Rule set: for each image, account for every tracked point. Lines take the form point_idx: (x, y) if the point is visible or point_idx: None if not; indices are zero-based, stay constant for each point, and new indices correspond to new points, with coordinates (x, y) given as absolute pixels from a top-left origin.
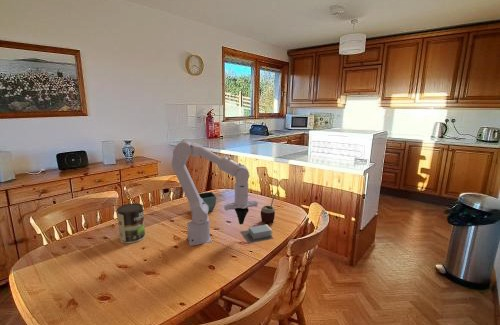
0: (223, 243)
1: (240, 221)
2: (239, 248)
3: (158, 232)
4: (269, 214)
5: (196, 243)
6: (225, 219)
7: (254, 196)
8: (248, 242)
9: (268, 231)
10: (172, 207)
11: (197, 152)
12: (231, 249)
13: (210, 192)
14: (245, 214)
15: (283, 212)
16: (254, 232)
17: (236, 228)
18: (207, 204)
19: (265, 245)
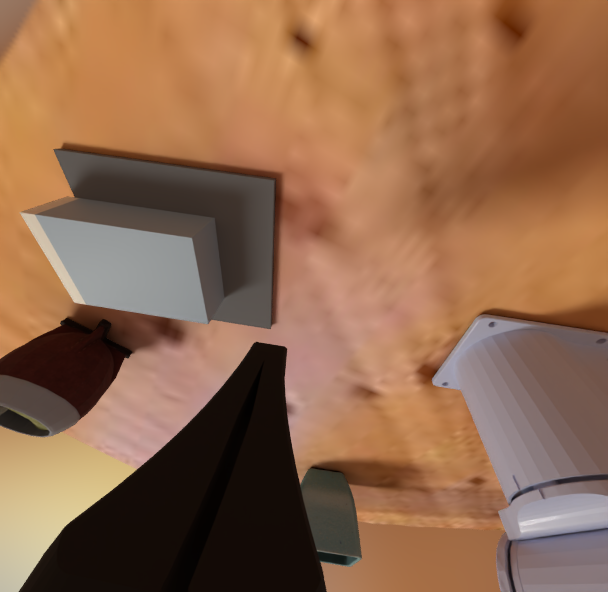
0: (428, 272)
1: (280, 375)
2: (371, 152)
3: None
4: (24, 368)
5: (583, 337)
6: (289, 422)
7: (137, 464)
8: (268, 192)
9: (62, 215)
10: (415, 512)
11: None
12: (437, 170)
13: None
14: (170, 462)
15: None
16: (183, 248)
17: None
18: (331, 510)
19: (139, 82)
